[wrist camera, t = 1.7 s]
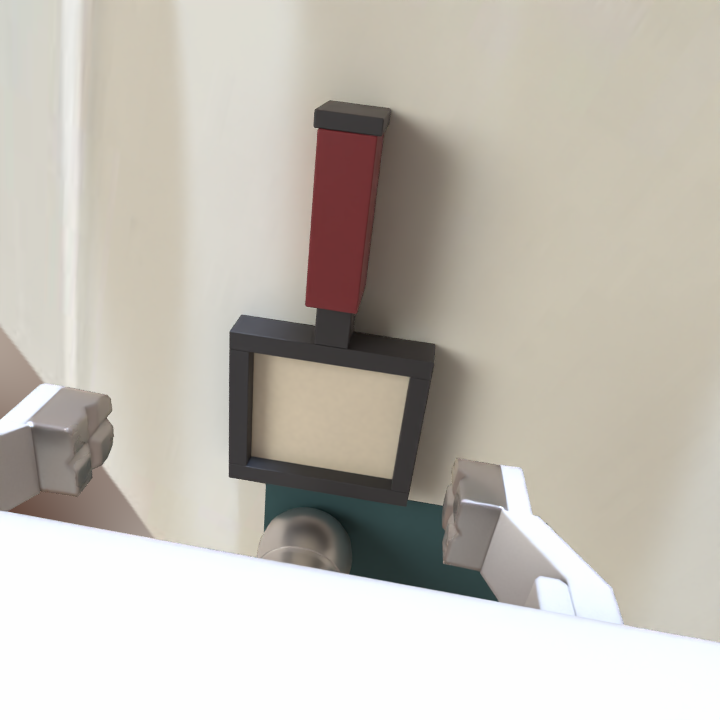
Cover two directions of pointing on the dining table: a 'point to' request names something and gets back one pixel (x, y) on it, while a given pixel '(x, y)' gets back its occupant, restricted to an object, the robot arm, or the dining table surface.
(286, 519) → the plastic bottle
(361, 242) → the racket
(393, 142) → the dining table surface
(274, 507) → the mat
